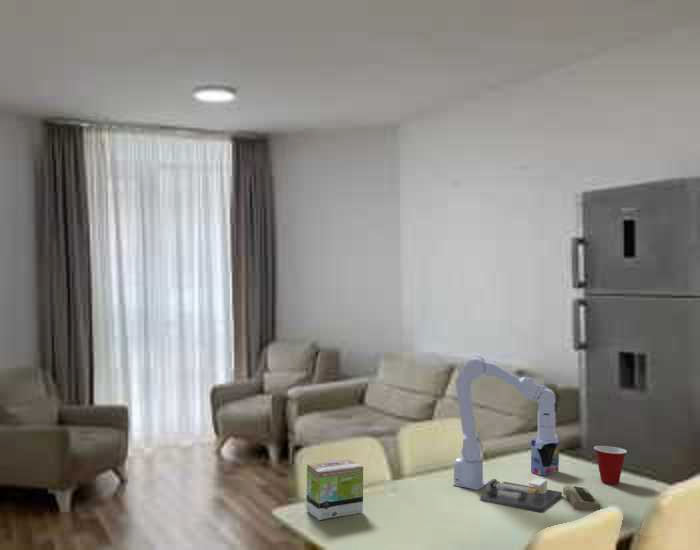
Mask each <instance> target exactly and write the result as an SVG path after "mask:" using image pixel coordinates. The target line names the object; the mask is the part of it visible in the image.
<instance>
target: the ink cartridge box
mask: <svg viewBox="0 0 700 550" xmlns="http://www.w3.org/2000/svg"><path fill="white" fill-rule="evenodd" d="M536 441H537V438H534V439H531V443H530V444H531V445H530V446H531V450H530V473H532V474H535V475H538V476H541V477H543V476H547V475H550V474H551V475H552V474H555V473H558V472H559V469H560V468H559V466H560V464H559V463H560V441H559V442H557V443H556V442H554V443H555V444H557V448H556V449H555V452H554V454H553V458H552V463H551V466H549V467H546V466H543V465H542V461H541V457H540V454H539V452H538V450H537V448H535V442H536Z"/></svg>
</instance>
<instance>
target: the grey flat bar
mask: <svg viewBox="0 0 700 550" xmlns="http://www.w3.org/2000/svg"><path fill="white" fill-rule="evenodd" d="M492 488H502V489H508V490H514V491H520V492H526V493H533V494H536V493H537V492H539V489H536V488H530V487H523V486H517V485H511V484H504V483H503V482H500V481H498V480H497V482H495V483H494V484H492Z"/></svg>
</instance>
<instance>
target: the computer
mask: <svg viewBox="0 0 700 550" xmlns="http://www.w3.org/2000/svg"><path fill="white" fill-rule="evenodd" d="M562 495H564V496H565V497H566V499H567V501H568V502H569V504H571V506H572V507H573V509H574V510H597V509H600V510H601V506H602V505H601V504H600V503H599V501H598V500H597V498H595V497H594V495H593V494H592V493H591V492H590V491H589V489H588V488H586V487H583V486H577V485H564V486H563V488H562Z"/></svg>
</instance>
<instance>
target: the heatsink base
mask: <svg viewBox="0 0 700 550" xmlns="http://www.w3.org/2000/svg"><path fill="white" fill-rule="evenodd" d="M497 481H498V480H497V479H496V478H492V479H491V480H489V481H487V482H486V483H487V485H486V492H485V493H484V494H482V495H481V496H480V501H482V502H483V501H484V502H488V503H493V504H498V505H502V506H508V507H512V508H518V509H521V510H522V509H523V510H527V511H532V512H538V513H541V512H543V511H545V509H547V508H548V507H550V505H551V504H554V502H556V501H557V500H558V499H559V498H561V497H562V495H563V491H557V490H552V489H548V488H547V492H546V493H545V494H540V493H536V494H533V493H526V492H520V491H514V490H508V489H502V488H492V484H494V483H495V482H497ZM502 483H504V484H511V485H517V486H523V487H530V488H533V486H531V485H525V484H519V483H513V482H507V481H503V482H502Z"/></svg>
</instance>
